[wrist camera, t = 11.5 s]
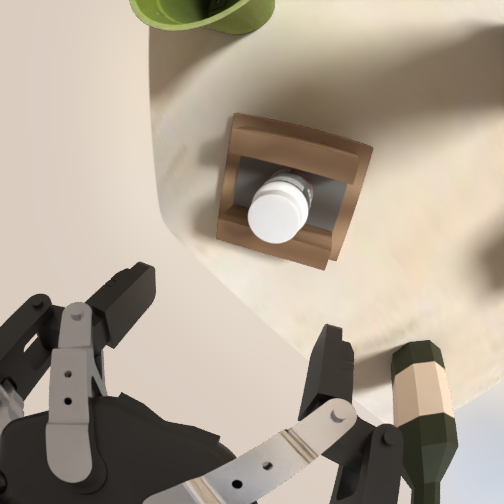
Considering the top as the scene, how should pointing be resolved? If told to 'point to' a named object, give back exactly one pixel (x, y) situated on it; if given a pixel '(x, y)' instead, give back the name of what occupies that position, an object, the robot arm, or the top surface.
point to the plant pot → (204, 14)
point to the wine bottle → (423, 418)
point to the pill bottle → (281, 206)
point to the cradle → (306, 161)
